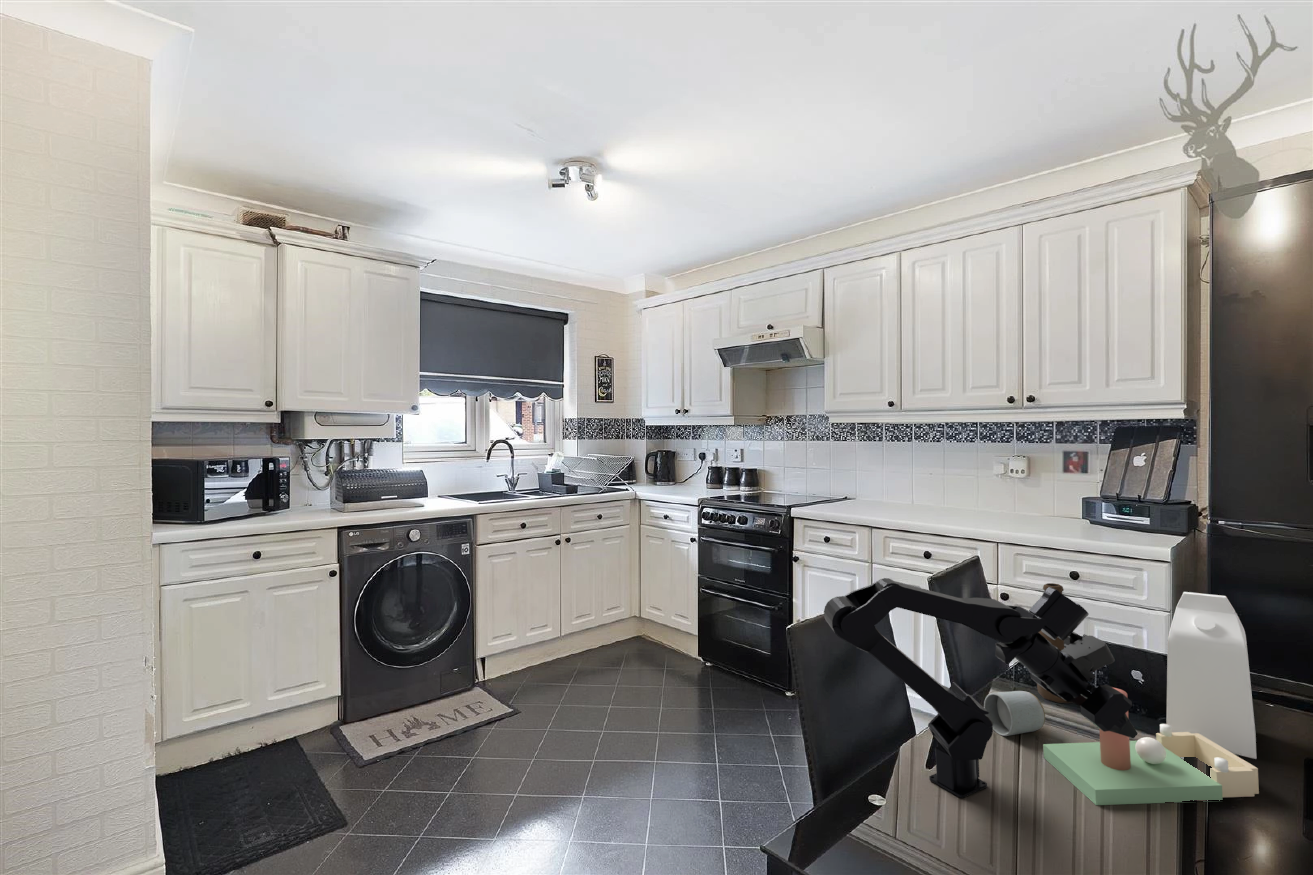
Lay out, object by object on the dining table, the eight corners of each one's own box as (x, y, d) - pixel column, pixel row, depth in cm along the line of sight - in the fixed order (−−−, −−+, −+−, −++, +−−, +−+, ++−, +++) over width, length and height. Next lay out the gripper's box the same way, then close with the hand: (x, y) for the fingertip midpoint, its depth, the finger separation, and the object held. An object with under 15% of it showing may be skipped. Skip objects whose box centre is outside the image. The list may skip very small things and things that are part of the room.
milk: (1255, 732, 116) (1249, 591, 115) (1256, 758, 107) (1249, 607, 107) (1171, 714, 124) (1165, 583, 123) (1166, 738, 115) (1159, 597, 115)
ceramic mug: (1050, 736, 118) (1047, 695, 118) (1013, 743, 117) (1010, 702, 117) (1007, 713, 129) (1005, 675, 129) (972, 719, 127) (970, 681, 127)
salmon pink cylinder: (1121, 772, 101) (1118, 698, 101) (1095, 761, 105) (1092, 690, 105) (1136, 765, 103) (1132, 693, 103) (1109, 754, 107) (1106, 684, 106)
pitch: (1096, 805, 97) (1095, 789, 97) (1043, 757, 111) (1043, 744, 111) (1222, 800, 97) (1221, 785, 97) (1154, 753, 111) (1153, 739, 111)
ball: (1158, 771, 101) (1157, 746, 101) (1130, 760, 105) (1129, 736, 105) (1171, 764, 103) (1170, 740, 103) (1144, 753, 106) (1143, 730, 106)
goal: (1218, 798, 97) (1217, 763, 97) (1156, 755, 110) (1154, 723, 110) (1263, 796, 97) (1262, 761, 97) (1195, 753, 110) (1194, 722, 110)
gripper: (1115, 642, 94) (1194, 711, 94) (1043, 606, 113) (1109, 664, 113) (1064, 697, 95) (1143, 765, 95) (1001, 652, 114) (1067, 710, 113)
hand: (1115, 721), depth 104 cm, fingers open, 9 cm apart
